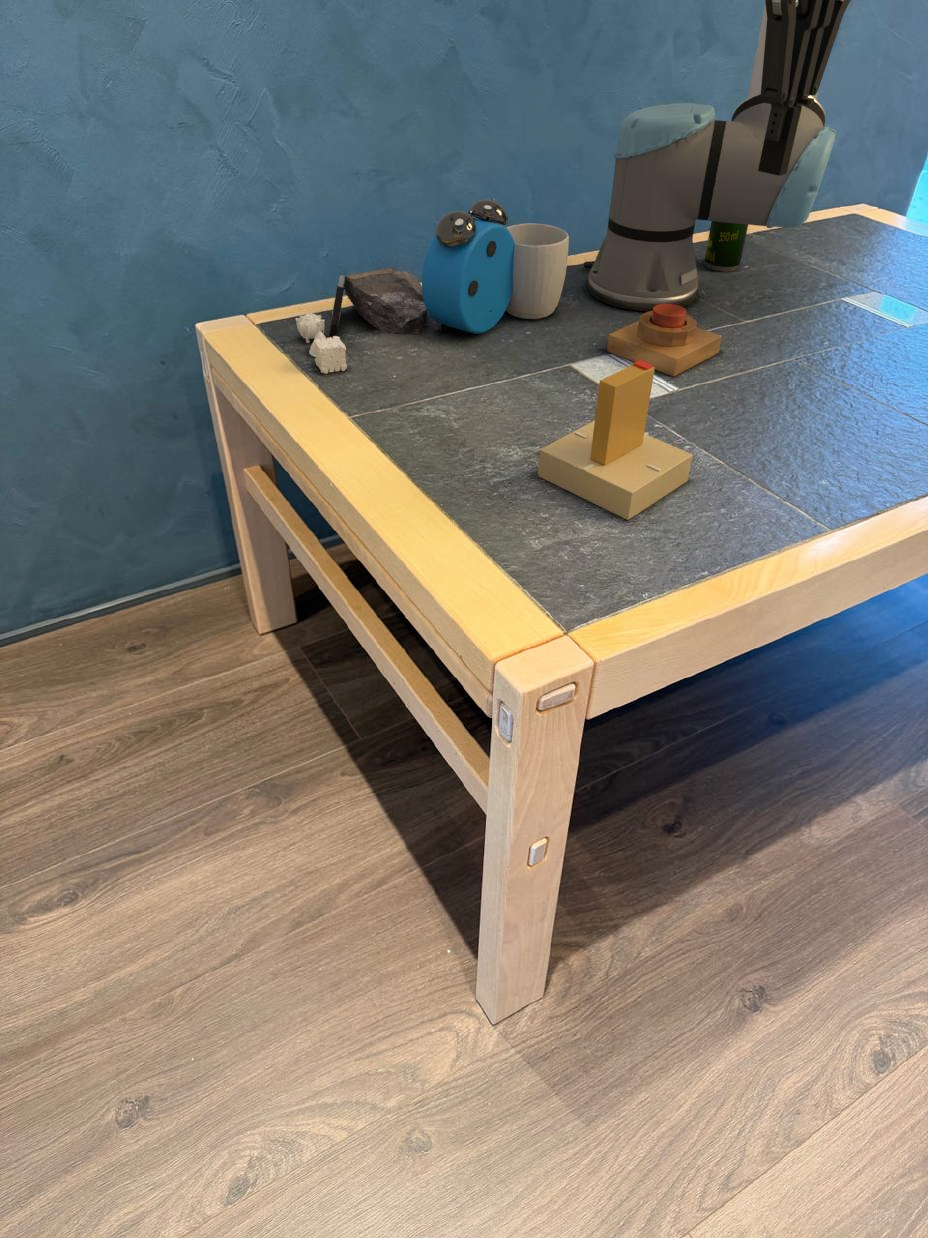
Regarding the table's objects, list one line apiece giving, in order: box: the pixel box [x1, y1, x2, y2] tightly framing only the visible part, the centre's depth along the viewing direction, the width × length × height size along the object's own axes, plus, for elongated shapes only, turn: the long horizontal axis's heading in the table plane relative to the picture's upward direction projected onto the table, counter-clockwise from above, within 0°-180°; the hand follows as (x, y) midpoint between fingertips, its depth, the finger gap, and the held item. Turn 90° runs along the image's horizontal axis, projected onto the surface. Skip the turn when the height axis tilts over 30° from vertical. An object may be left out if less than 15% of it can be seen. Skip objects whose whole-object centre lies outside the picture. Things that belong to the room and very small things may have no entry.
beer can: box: [703, 221, 749, 273], centre depth 134 cm, size 5×5×12 cm
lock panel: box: [537, 420, 694, 521], centre depth 88 cm, size 11×10×3 cm
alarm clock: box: [421, 197, 515, 335], centre depth 113 cm, size 13×6×15 cm, turn 144°
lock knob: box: [590, 360, 655, 465], centre depth 85 cm, size 6×2×8 cm, turn 135°
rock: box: [343, 267, 428, 336], centre depth 118 cm, size 14×11×5 cm
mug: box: [505, 222, 570, 320], centre depth 120 cm, size 13×9×10 cm
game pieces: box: [295, 312, 348, 375], centre depth 110 cm, size 12×3×3 cm, turn 22°
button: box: [651, 304, 687, 329], centre depth 110 cm, size 4×4×2 cm
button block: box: [606, 311, 723, 377], centre depth 112 cm, size 10×10×4 cm
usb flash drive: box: [328, 274, 345, 338], centre depth 116 cm, size 9×5×1 cm
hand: (772, 171), depth 99 cm, fingers closed
